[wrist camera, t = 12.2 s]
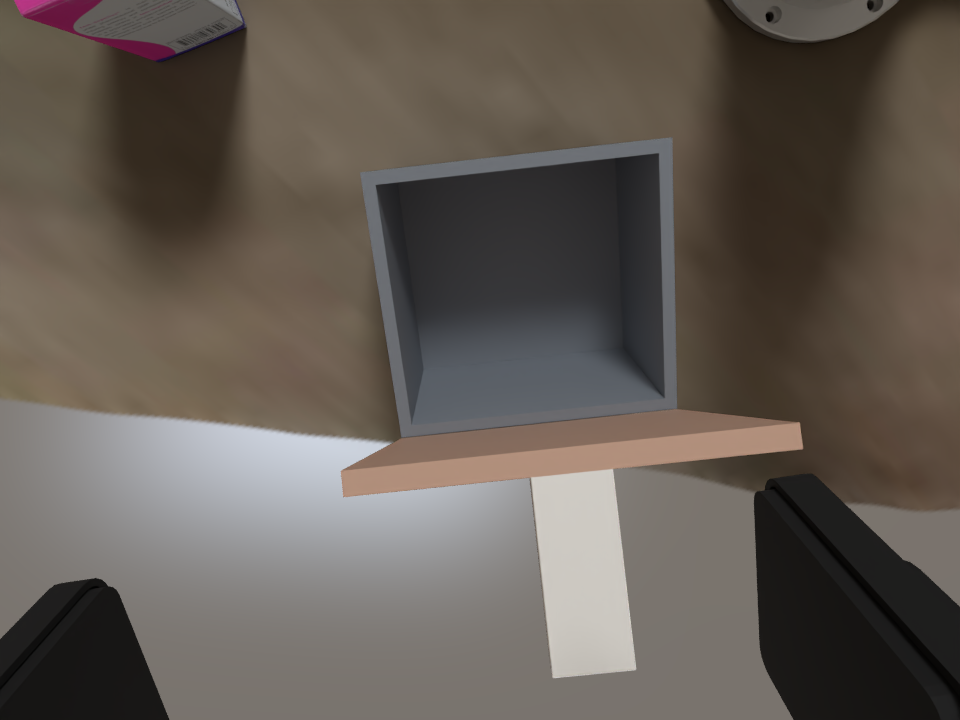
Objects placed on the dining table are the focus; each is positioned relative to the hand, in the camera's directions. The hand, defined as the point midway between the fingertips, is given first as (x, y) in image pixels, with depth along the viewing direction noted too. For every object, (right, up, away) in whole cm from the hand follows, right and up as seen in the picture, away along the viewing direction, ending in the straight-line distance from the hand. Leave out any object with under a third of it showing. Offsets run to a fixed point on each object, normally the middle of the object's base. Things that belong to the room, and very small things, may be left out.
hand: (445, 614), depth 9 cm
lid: (+3, +1, +17) cm, 17 cm away
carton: (+3, +10, +31) cm, 33 cm away
